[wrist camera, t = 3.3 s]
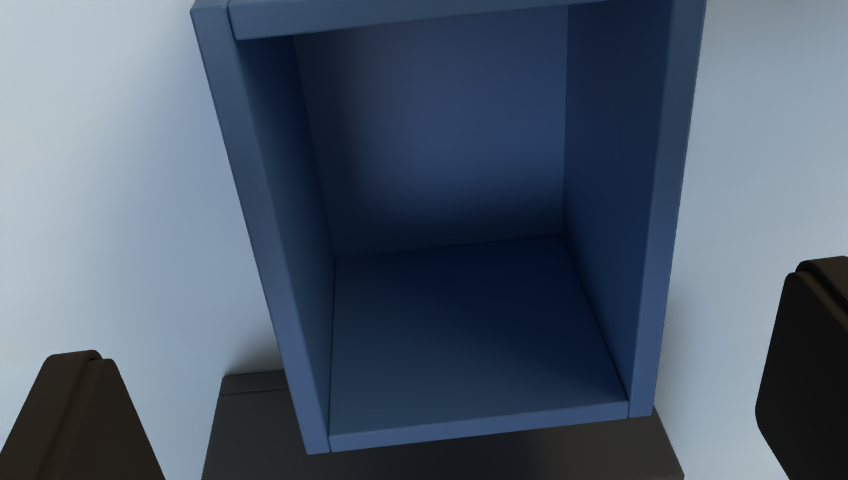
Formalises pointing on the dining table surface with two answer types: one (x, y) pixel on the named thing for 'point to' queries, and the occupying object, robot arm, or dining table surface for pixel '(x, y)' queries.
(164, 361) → the dining table surface
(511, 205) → the nested bin
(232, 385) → the base bin
